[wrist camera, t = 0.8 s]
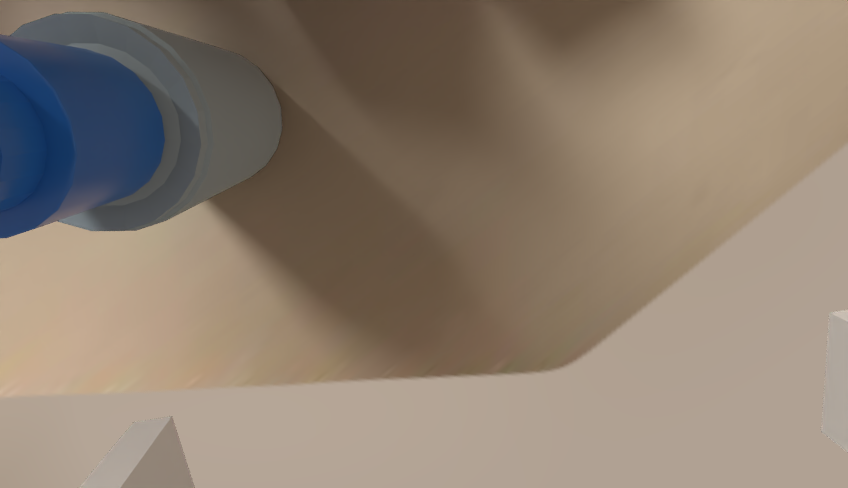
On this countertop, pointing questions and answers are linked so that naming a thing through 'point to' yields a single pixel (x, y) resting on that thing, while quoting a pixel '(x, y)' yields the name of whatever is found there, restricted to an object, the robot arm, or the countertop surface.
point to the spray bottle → (123, 123)
